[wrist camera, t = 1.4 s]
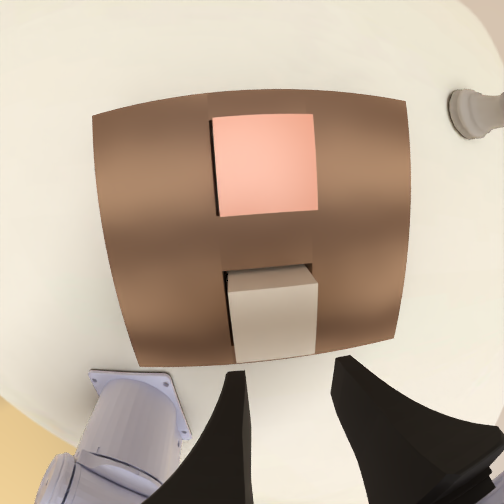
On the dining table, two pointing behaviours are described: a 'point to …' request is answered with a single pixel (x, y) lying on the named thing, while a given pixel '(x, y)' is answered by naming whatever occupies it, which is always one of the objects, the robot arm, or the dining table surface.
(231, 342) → the key panel
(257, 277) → the ivory key
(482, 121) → the rook chess piece
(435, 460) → the robot arm
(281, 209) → the terracotta key
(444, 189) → the dining table surface
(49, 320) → the dining table surface
